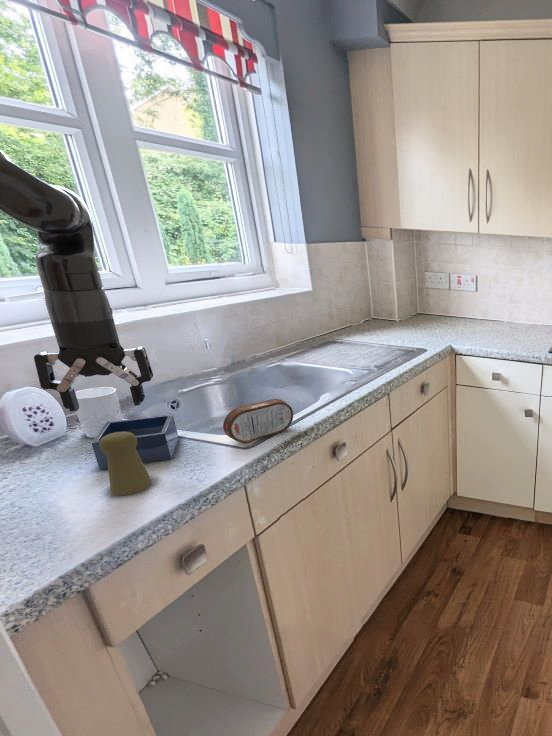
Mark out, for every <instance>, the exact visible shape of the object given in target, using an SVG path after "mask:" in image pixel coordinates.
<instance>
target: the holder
mask: <svg viewBox="0 0 552 736" xmlns="http://www.w3.org/2000/svg"><path fill="white" fill-rule="evenodd" d="M115 432H131V433H133V434H134V435H135V436H136V438H137V446H136V450H137V452H138V454H139V456H140V458H141V460H142V462H143V464H147V463H153V462H159V461H166V460H172V458H173V455H174V452H175V449H176V447H177V443H178V440H179V434H178V429H177V425H176V421H175V418H174V414H172V413H171V414H170V413H169V414H162V415H154V416H146V417H139V418H138V417H137V418H129V419H122V420H120V421H112V422H106V424H105V425H104V426H103V428H102V429H101V431H100V432H99V433H98V435H97V436H96V438H93V440H92V442H91V443H90V444H91V447H92V451H93V455H94V457H95V460H96V463H97V466H98V470H99V471H103V470H108V463H107V454H105V453H103V452H102V451H101V449H100V447H99V442H100V440H101V439H102V438H103V437H104V436H106V435H108V434H111V433H115Z"/></svg>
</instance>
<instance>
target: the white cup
mask: <svg viewBox="0 0 552 736" xmlns="http://www.w3.org/2000/svg"><path fill="white" fill-rule="evenodd" d="M75 394H76V397H77V400H78V404H79V409H78V410H77V411H74V413H75V414H76V416H77V419H78V421H79V423H80V426H82V429H83V431H84V434H85V436H86V437H87V438H90V439H91V438H92V439H95V438H96V436H97V435H98V433H99V432H100V431H101V429H102V428H103V426H104V425H105V424H106V422H112V421H120V420H123V414H122V409H121V405H120V404H121V403H120V399H119V395H118V391H117V388H115V387H113V386H112V387H111V386H97V387H90V388H84V389H81V390H77V391H75Z"/></svg>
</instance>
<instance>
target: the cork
mask: <svg viewBox="0 0 552 736" xmlns="http://www.w3.org/2000/svg"><path fill="white" fill-rule="evenodd" d="M136 446H137V438H136V436H135V435H134V434H133V433H131V432H115V433H111V434H108V435H106V436H104V437H103V438H102V439H101V440H100V442H99V447H100V449H101V451H102V452H103V453H105V454H107V463H108V469H107V471H108V478H109V480H108V481H109V488H110V494H112V495H113V496H128V495H133V494H136V493H140V492H142V491H144V490H146V489H148V488H149V487H150V486H151V485H152V484H153V480H152V479H151V477H150V475H149V473H148V471H147V468H146V466H145V463H143V462H142V460H141V458H140V456H139V454H138V452H137V450H136Z"/></svg>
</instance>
